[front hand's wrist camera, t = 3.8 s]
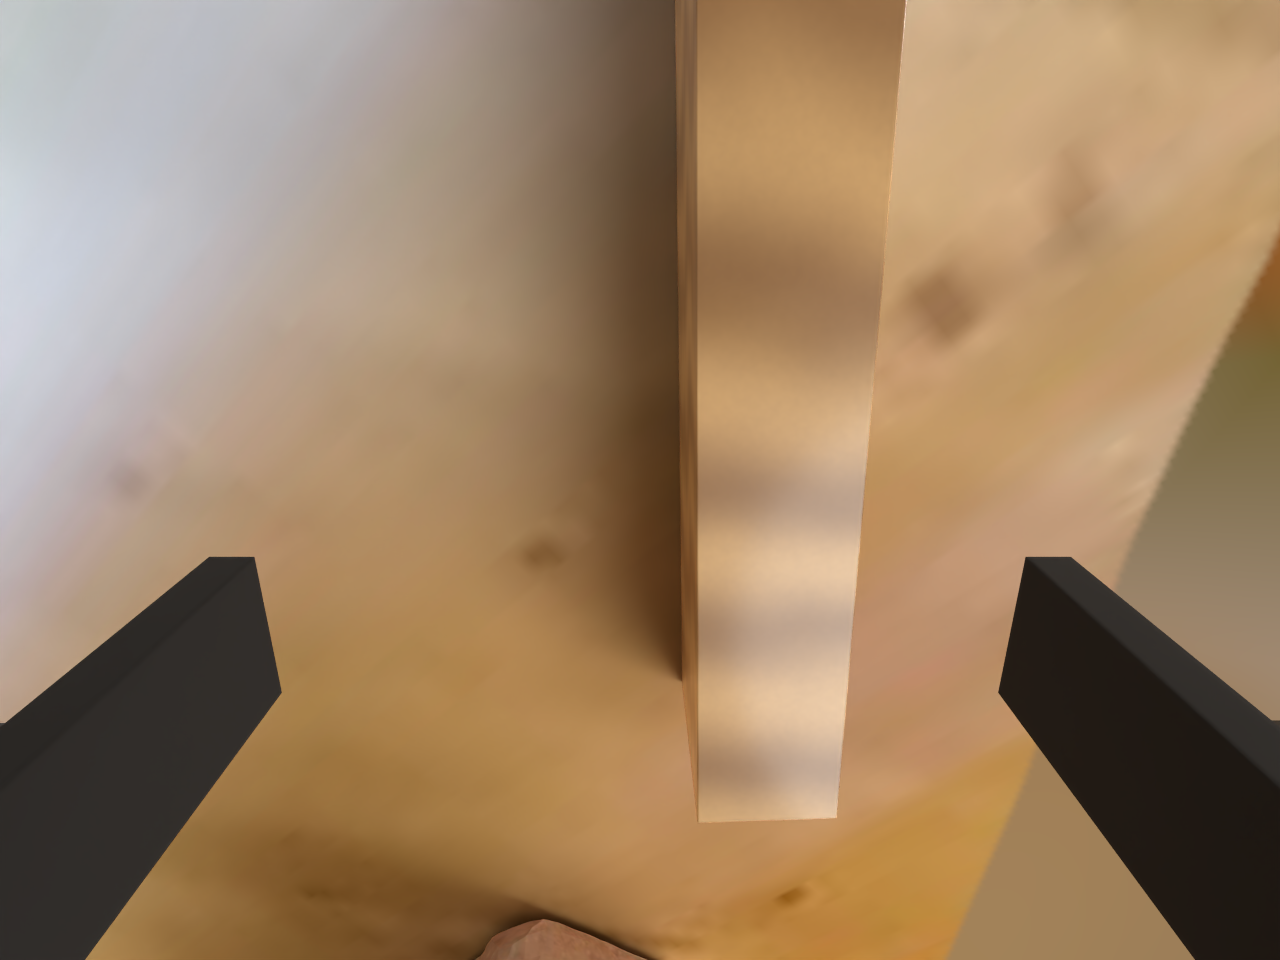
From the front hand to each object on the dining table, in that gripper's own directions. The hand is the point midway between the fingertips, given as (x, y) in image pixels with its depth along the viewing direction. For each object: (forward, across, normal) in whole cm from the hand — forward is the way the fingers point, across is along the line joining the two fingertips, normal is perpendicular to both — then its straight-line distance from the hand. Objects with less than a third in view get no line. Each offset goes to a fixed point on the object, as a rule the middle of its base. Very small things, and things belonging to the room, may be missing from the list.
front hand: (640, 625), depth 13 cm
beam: (+17, -4, -16) cm, 24 cm away
